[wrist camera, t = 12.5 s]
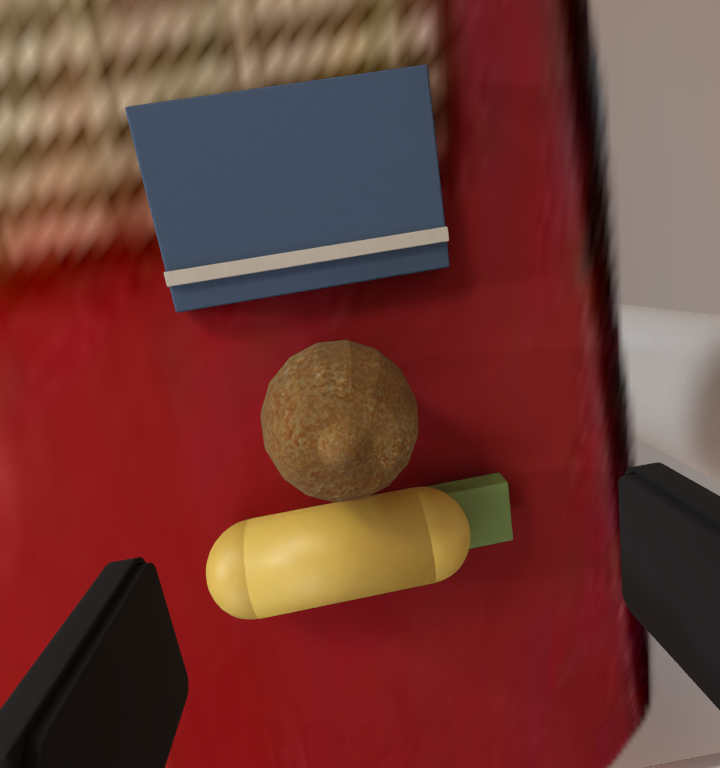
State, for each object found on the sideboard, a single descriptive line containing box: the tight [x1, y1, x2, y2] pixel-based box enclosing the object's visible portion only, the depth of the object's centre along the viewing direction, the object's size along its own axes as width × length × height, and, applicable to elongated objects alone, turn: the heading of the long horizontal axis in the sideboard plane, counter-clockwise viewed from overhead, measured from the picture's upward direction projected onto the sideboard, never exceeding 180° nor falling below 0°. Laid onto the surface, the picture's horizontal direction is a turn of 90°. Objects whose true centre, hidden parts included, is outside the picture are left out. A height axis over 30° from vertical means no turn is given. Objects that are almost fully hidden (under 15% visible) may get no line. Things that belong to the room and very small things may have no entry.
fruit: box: [261, 340, 418, 502], centre depth 19 cm, size 6×6×8 cm
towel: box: [125, 65, 450, 312], centre depth 20 cm, size 12×8×2 cm, turn 99°
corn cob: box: [206, 473, 513, 619], centre depth 23 cm, size 15×4×4 cm, turn 99°
